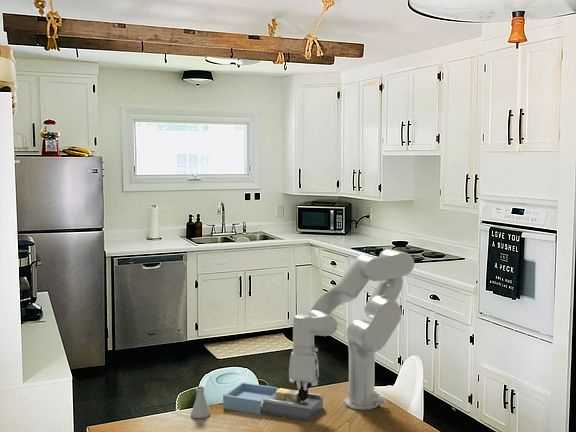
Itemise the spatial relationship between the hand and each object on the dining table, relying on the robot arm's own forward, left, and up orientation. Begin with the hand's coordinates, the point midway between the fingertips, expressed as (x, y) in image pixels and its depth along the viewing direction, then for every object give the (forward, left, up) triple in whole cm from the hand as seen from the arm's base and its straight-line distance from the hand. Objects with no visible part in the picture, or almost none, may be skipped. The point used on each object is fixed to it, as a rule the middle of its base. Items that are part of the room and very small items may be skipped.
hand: (303, 399), depth 219 cm
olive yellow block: (+8, 0, -1) cm, 8 cm away
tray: (+21, 0, -5) cm, 22 cm away
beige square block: (+4, 0, -1) cm, 4 cm away
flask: (+33, +16, -5) cm, 37 cm away
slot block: (+4, 0, -5) cm, 6 cm away
